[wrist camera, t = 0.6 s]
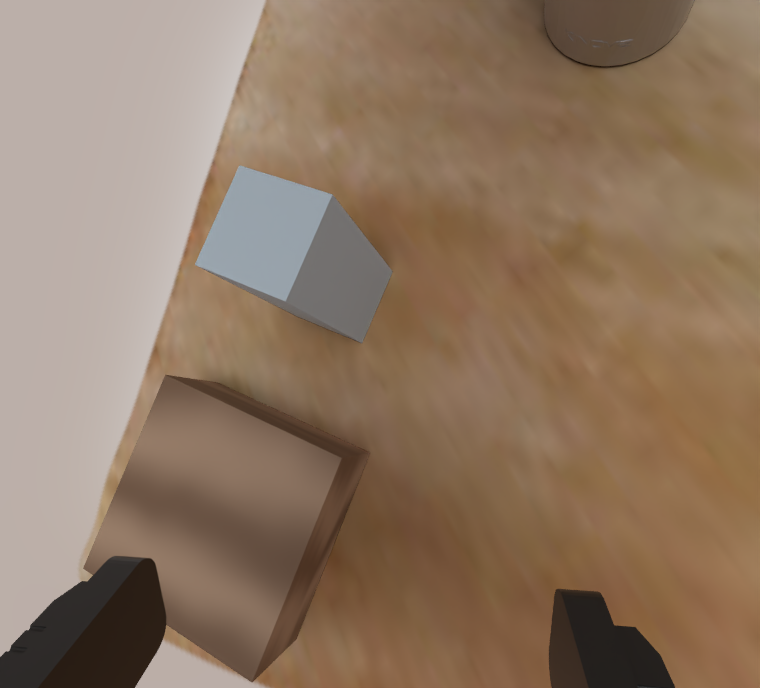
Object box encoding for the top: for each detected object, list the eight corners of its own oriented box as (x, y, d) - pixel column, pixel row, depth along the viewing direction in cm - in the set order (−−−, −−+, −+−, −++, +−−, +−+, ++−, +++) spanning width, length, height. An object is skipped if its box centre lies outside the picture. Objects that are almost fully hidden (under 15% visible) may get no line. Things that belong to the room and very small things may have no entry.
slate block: (326, 248, 36) (239, 165, 24) (392, 271, 34) (332, 194, 23) (296, 316, 36) (194, 264, 24) (362, 343, 34) (285, 301, 23)
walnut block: (219, 382, 37) (165, 374, 31) (371, 452, 33) (341, 458, 27) (151, 545, 36) (83, 568, 30) (298, 637, 32) (252, 682, 26)
